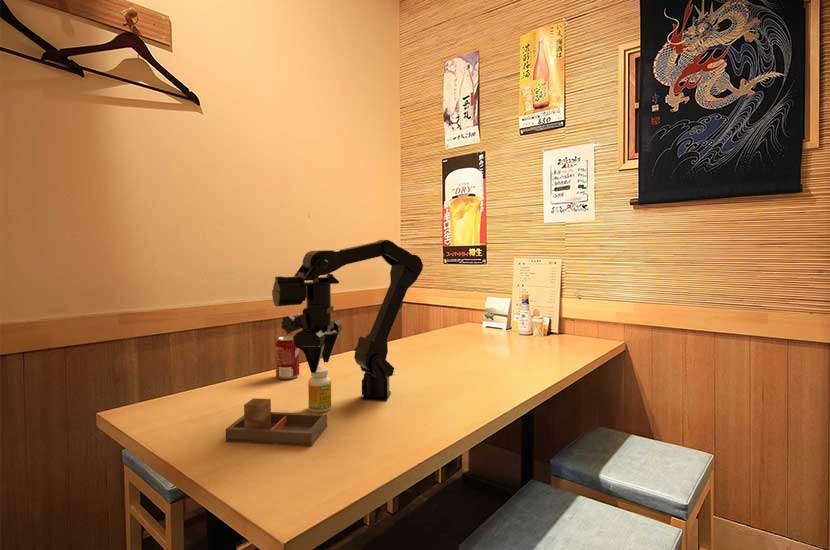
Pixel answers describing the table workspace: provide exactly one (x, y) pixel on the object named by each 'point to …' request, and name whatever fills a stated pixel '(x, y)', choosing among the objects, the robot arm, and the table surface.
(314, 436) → the tray
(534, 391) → the table surface
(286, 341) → the soda can
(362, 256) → the robot arm
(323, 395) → the supplement bottle
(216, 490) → the table surface
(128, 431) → the table surface
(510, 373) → the table surface
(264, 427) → the walnut block
